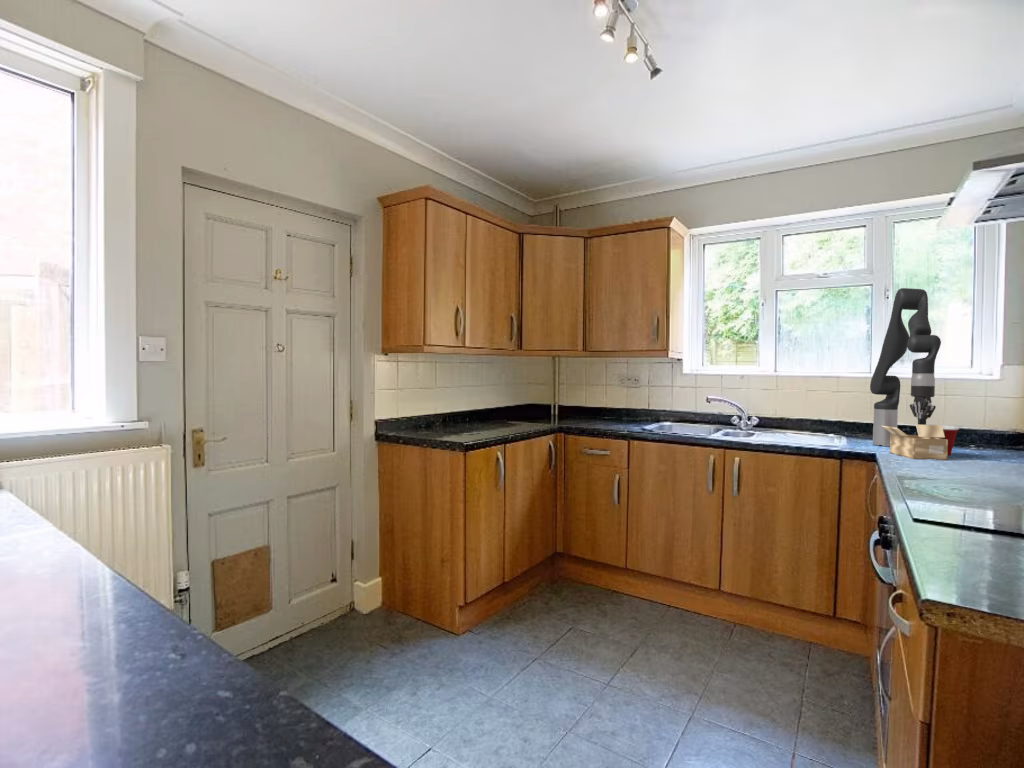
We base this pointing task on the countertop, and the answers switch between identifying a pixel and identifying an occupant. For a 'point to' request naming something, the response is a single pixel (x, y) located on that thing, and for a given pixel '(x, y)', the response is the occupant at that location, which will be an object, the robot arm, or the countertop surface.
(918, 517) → the countertop surface
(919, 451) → the carton
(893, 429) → the long flap
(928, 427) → the short flap
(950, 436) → the plastic cup
